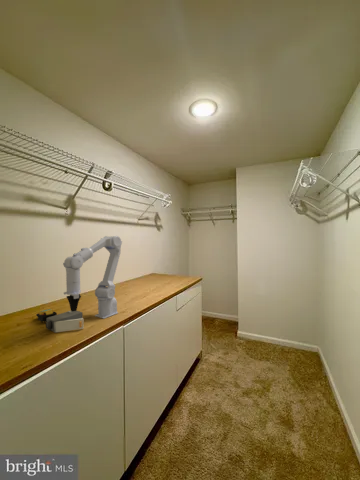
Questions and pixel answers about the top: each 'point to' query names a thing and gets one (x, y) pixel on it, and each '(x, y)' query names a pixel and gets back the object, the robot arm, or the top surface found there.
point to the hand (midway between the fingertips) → (73, 310)
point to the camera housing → (62, 318)
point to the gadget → (45, 314)
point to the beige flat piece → (68, 325)
